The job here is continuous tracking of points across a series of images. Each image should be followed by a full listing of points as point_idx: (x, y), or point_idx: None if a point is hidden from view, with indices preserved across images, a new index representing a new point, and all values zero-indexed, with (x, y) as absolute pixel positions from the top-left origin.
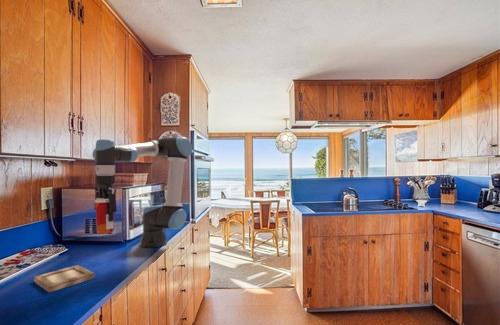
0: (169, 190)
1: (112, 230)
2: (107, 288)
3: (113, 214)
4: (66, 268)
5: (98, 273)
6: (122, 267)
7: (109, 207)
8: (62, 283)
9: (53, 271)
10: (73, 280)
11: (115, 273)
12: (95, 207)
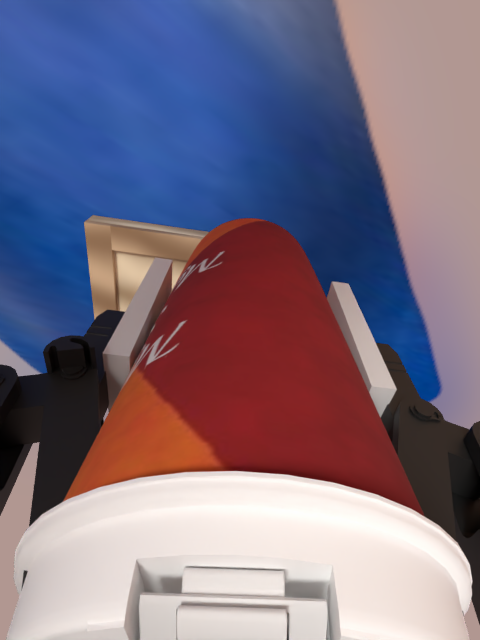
0: None
1: (303, 250)
2: (386, 272)
3: (343, 338)
4: (96, 269)
5: (221, 198)
6: (256, 76)
7: (461, 545)
8: None
9: (94, 307)
10: None
11: (294, 159)
12: (13, 460)
